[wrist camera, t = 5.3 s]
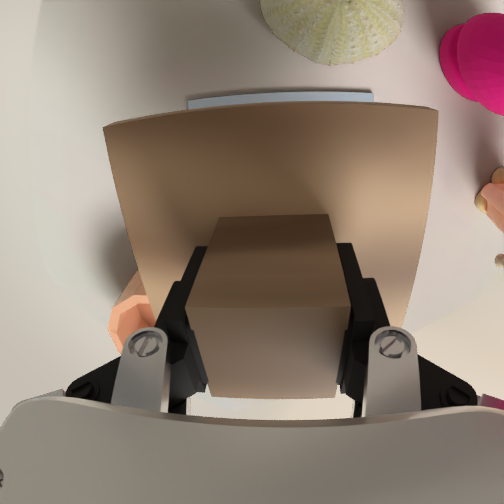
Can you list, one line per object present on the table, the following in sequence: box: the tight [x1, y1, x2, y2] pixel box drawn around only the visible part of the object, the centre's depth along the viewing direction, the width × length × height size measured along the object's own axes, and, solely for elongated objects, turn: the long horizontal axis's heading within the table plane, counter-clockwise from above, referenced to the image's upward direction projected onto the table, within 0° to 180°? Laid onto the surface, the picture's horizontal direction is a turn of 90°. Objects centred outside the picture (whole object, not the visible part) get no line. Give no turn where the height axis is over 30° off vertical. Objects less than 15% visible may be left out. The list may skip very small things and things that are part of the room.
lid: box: [103, 101, 438, 399], centre depth 11 cm, size 12×12×6 cm
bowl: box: [108, 270, 156, 354], centre depth 28 cm, size 11×11×6 cm
